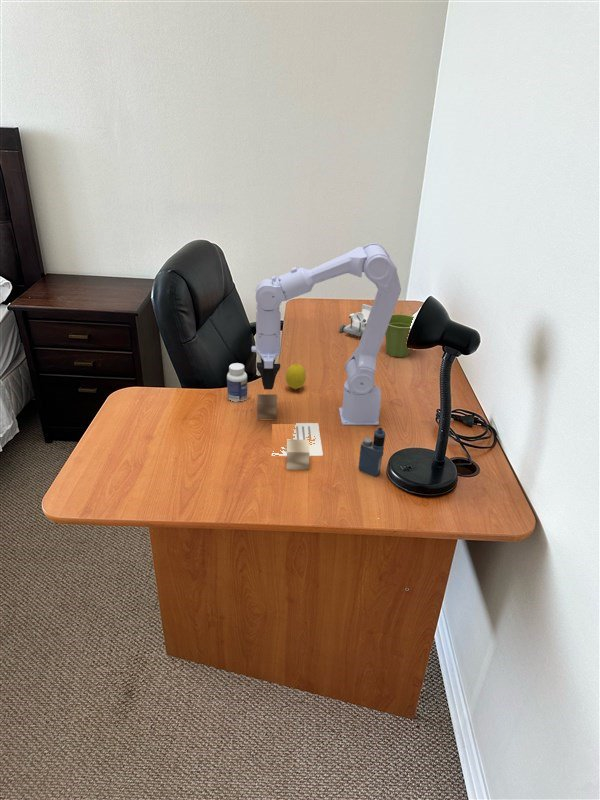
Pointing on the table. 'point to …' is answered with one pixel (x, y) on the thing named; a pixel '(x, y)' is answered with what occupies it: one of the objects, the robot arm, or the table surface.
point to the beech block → (297, 454)
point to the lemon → (295, 376)
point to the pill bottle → (237, 382)
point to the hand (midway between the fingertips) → (268, 381)
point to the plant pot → (398, 335)
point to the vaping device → (372, 453)
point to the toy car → (357, 321)
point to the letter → (302, 434)
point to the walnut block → (266, 406)
